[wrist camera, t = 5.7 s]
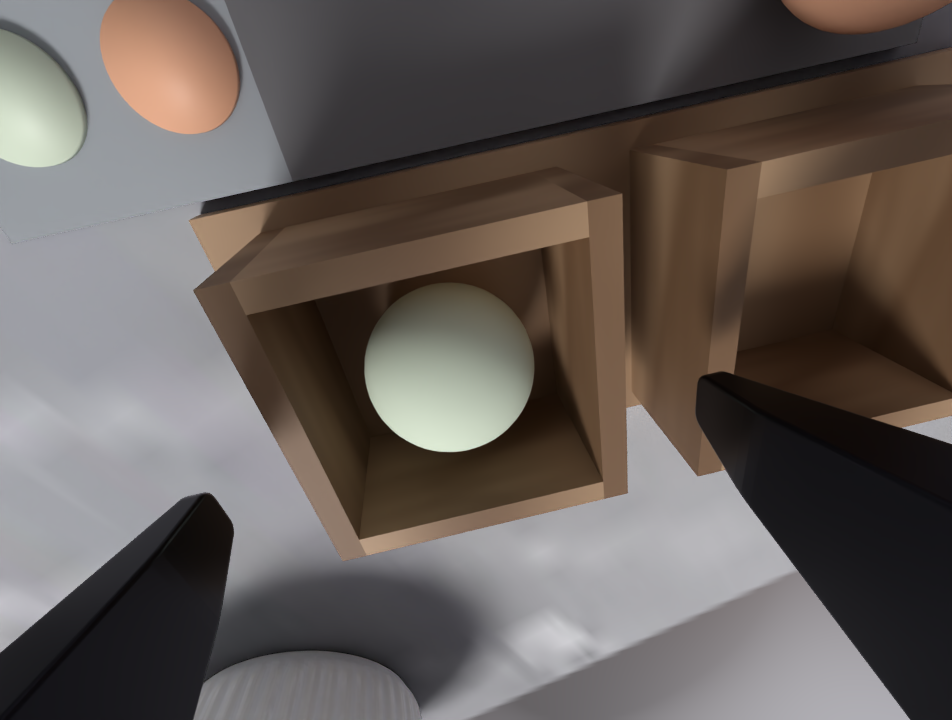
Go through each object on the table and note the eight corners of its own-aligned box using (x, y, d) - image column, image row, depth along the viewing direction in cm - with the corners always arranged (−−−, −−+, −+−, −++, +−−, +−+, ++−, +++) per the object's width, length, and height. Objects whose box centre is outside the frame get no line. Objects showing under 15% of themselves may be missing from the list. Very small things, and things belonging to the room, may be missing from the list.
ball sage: (502, 244, 11) (545, 304, 8) (522, 373, 13) (563, 465, 10) (349, 279, 11) (326, 356, 8) (393, 404, 13) (390, 507, 10)
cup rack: (955, 46, 11) (1239, 15, 7) (866, 339, 15) (1017, 416, 12) (198, 214, 11) (83, 275, 7) (324, 466, 15) (296, 588, 11)
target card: (215, -117, 8) (202, -132, 8) (316, 174, 11) (312, 177, 10) (-173, -37, 8) (-213, -45, 7) (25, 239, 10) (4, 246, 10)
